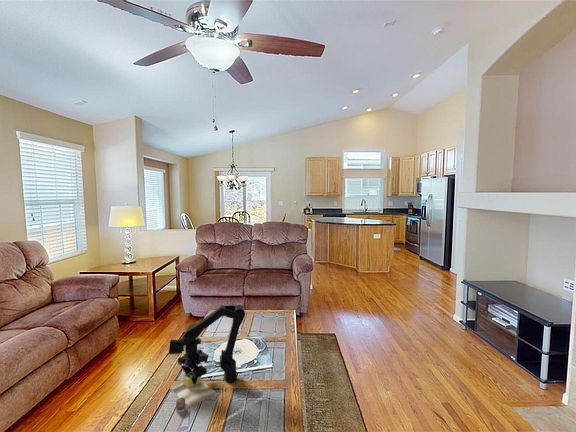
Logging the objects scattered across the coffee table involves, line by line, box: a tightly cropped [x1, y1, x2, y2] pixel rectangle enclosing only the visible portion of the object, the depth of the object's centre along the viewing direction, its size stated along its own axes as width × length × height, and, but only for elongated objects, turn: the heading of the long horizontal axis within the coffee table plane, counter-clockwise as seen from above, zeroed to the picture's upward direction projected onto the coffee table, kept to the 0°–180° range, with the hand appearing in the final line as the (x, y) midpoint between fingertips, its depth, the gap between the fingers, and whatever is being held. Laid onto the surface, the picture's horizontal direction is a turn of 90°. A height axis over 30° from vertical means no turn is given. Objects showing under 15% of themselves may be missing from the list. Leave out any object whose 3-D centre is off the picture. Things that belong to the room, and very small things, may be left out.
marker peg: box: [175, 397, 186, 414], centre depth 138 cm, size 4×4×5 cm
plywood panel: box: [169, 379, 217, 408], centre depth 152 cm, size 20×14×1 cm
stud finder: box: [182, 372, 202, 388], centre depth 157 cm, size 4×7×5 cm, turn 134°
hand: (192, 381), depth 157 cm, fingers closed on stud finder, 5 cm apart
